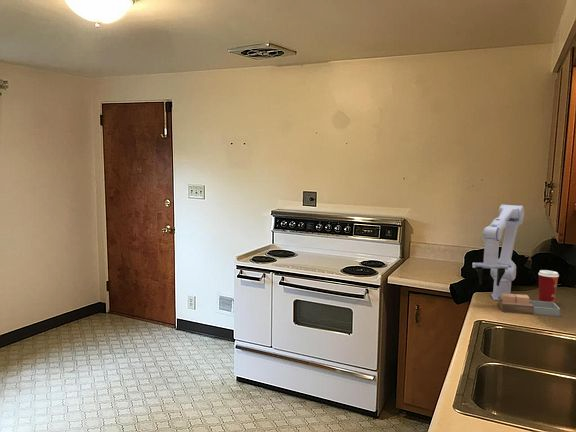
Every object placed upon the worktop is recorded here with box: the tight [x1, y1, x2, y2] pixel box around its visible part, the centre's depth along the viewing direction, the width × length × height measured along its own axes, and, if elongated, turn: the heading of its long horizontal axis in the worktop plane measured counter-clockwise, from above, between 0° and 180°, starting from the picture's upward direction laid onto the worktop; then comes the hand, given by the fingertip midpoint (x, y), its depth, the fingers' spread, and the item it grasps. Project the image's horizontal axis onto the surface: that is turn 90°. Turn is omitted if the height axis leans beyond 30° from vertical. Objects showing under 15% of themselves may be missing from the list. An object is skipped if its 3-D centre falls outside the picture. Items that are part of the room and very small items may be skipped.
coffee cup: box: [537, 269, 560, 303], centre depth 219 cm, size 8×8×15 cm
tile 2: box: [514, 293, 531, 304], centre depth 211 cm, size 5×5×2 cm
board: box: [497, 296, 534, 315], centre depth 212 cm, size 12×12×4 cm
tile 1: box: [501, 293, 516, 303], centre depth 212 cm, size 5×5×2 cm
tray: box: [530, 299, 562, 317], centre depth 209 cm, size 11×10×3 cm
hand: (489, 284), depth 214 cm, fingers open, 6 cm apart
